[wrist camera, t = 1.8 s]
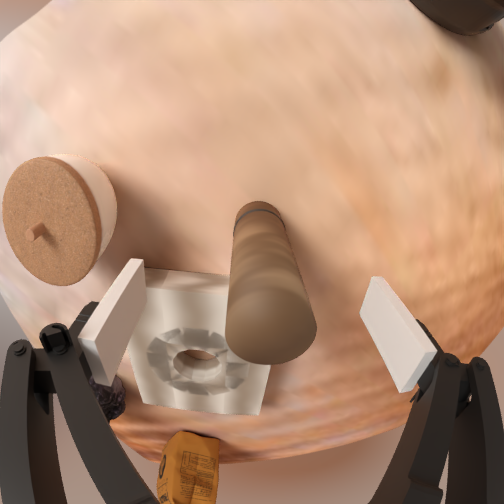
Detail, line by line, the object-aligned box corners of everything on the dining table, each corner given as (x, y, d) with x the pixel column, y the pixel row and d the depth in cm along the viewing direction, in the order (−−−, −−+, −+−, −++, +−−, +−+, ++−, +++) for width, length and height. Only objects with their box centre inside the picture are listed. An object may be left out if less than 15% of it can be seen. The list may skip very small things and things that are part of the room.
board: (281, 279, 28) (285, 299, 25) (257, 395, 37) (258, 415, 34) (126, 265, 27) (113, 283, 24) (148, 384, 36) (143, 402, 32)
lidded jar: (149, 168, 23) (101, 195, 15) (118, 263, 27) (77, 319, 19) (62, 131, 21) (-4, 145, 12) (42, 224, 25) (-10, 262, 16)
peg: (283, 200, 25) (327, 299, 11) (277, 242, 26) (306, 366, 13) (237, 195, 24) (226, 293, 11) (233, 238, 26) (221, 363, 13)
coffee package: (155, 441, 45) (140, 531, 25) (179, 423, 41) (164, 534, 21) (198, 455, 48) (191, 541, 28) (228, 439, 43) (225, 543, 24)
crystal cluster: (94, 401, 40) (85, 445, 32) (42, 357, 34) (24, 403, 25) (146, 391, 39) (141, 443, 31) (90, 339, 33) (71, 396, 24)
